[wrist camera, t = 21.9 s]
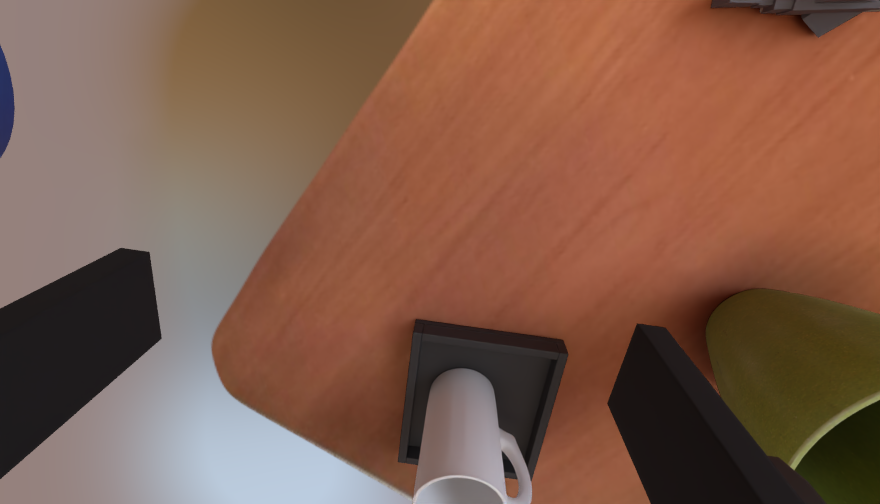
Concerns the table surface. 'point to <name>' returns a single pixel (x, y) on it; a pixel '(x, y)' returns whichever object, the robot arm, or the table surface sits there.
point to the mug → (466, 445)
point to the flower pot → (804, 385)
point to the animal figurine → (809, 10)
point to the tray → (506, 367)
